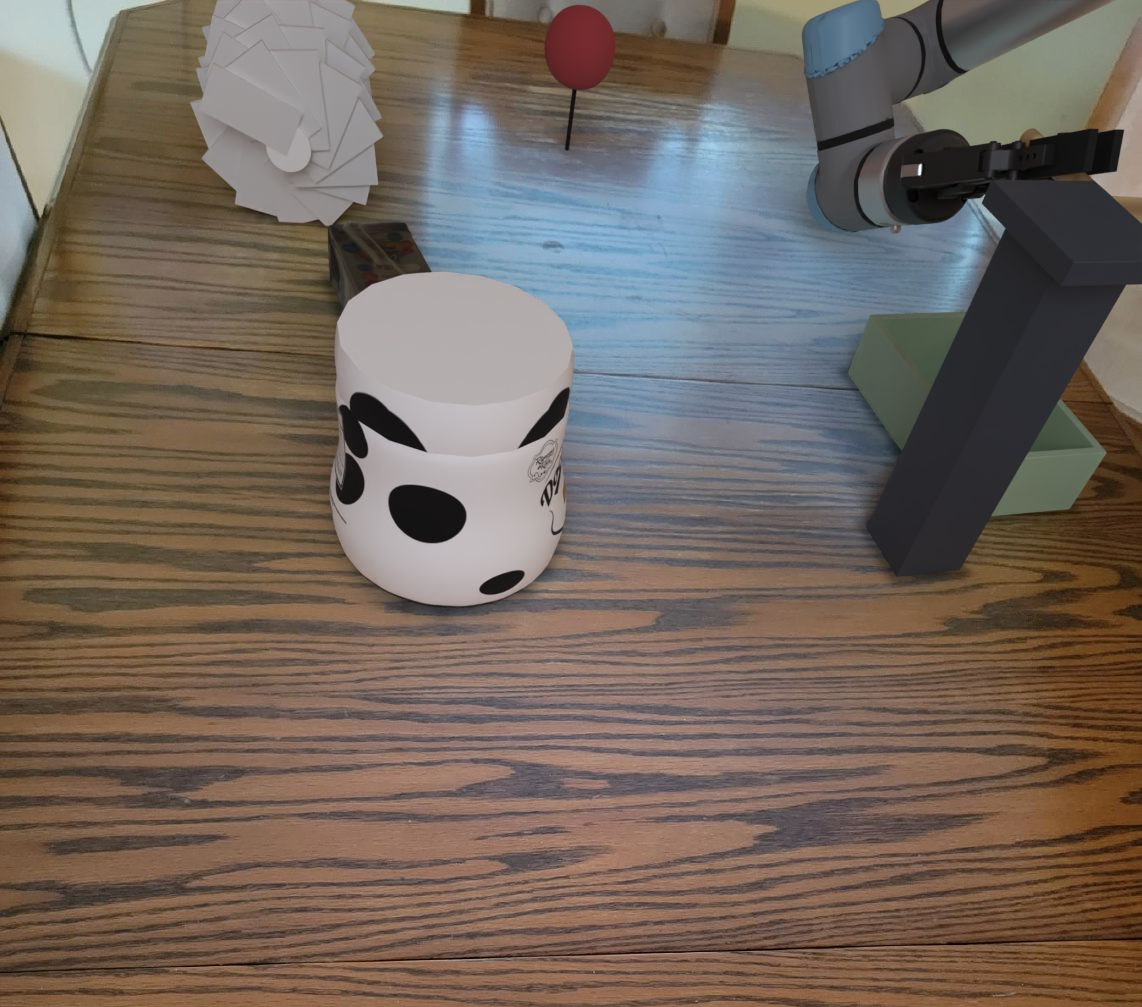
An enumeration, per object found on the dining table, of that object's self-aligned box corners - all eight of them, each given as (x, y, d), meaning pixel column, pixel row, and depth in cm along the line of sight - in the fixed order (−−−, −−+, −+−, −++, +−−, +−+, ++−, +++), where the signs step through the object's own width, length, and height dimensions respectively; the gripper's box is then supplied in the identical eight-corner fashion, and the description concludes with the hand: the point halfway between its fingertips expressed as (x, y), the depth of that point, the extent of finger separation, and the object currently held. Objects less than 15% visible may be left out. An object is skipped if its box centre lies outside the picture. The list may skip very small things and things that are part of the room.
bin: (845, 378, 101) (870, 314, 96) (955, 373, 104) (985, 310, 99) (945, 525, 89) (980, 461, 84) (1066, 514, 93) (1107, 452, 87)
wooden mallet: (1163, 258, 74) (1181, 230, 73) (1119, 257, 73) (1136, 228, 72) (1042, 150, 84) (1056, 124, 82) (1002, 147, 83) (1014, 120, 81)
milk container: (603, 562, 81) (645, 356, 67) (435, 665, 72) (443, 454, 58) (457, 449, 87) (467, 237, 73) (286, 532, 78) (260, 311, 64)
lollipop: (576, 177, 119) (595, 27, 107) (522, 153, 121) (535, 3, 109) (610, 157, 123) (632, 10, 111) (558, 134, 125) (574, -12, 113)
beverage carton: (408, 278, 102) (408, 211, 96) (464, 394, 92) (468, 326, 86) (328, 284, 99) (323, 215, 94) (377, 403, 89) (375, 334, 84)
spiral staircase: (335, 174, 120) (344, 278, 105) (181, 91, 111) (166, 192, 96) (401, 12, 109) (422, 102, 94) (236, -94, 100) (229, -13, 85)
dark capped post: (978, 592, 85) (1183, 260, 62) (893, 601, 83) (1073, 262, 60) (924, 511, 90) (1094, 180, 68) (843, 518, 88) (991, 179, 66)
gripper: (978, 225, 100) (1171, 208, 79) (844, 225, 96) (1011, 207, 75) (990, 135, 96) (1195, 93, 76) (852, 131, 93) (1028, 86, 72)
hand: (1103, 150), depth 76 cm, fingers closed on wooden mallet, 2 cm apart
